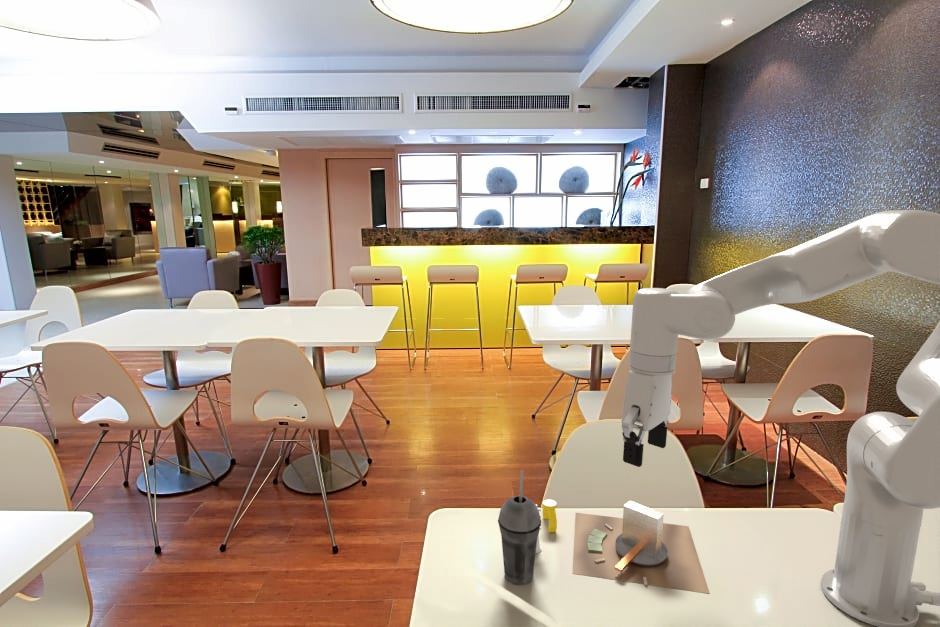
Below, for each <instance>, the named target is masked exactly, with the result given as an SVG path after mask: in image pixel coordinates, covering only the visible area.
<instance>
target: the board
mask: <svg viewBox="0 0 940 627" xmlns="http://www.w3.org/2000/svg"><path fill="white" fill-rule="evenodd" d="M574 519H575V520H574V535H573V558H572V560H573V561H572V574H574V575H579V576H586V577H587V576H588V577H593V578H599V579H607V580H613V581H621V582H626V583H634V584H639V585H640V584H641V585H643V586H646V587H648V586H653V587H659V588H660V587H661V588H668V589H675V590H681V591H687V592H695V593H701V594H709V595H710V594H711V593H710V590H709V586H708V584H707V581H706V577H705V573H704V571H703V568H702V565H701V564H702V563H701V561H700V558H699V554H698V552H697V549H696V545H695V542H694V540H693V536H692V533H691V529H690V527H689V526H688V525H683V524H681V525H680V524H672V523H666V522H665V523H664V522H663V529H662V542H663V543H664V545H665V546H666V548H667V559H666V561H665V562H664V563H663V564H662V565H660V566H657V567H641V566H637V565H634V564H631V563H630V564H629V565H628V566H627V567H626V568H625V569H624V570H623V571H622V572H619V571H617V570H615V566H616V565H617V564H618V563H619V562H620V561H621V560H622V559H623V558H621V557H620V556H619V554H618V553H617V551H616V548H615V544H616V539H617V537H618V536H619V535H621V534H622V528H623V517H616V516H615V517H614V516H607V515H598V514H589V513H581V512H575V518H574Z"/></svg>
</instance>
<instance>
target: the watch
mask: <svg viewBox="0 0 940 627" xmlns="http://www.w3.org/2000/svg"><path fill="white" fill-rule="evenodd" d="M557 506H558V504H557V501H556V500H553V499H550V498H549V499H545V500H543V501H542V519H543V520H545V519H546V520H547V519H549V524H548V525H549V527H548V528H549V529H548V533H557V530H558V529H557V527H558V525H557V524H558V519H557V513H556V508H557Z"/></svg>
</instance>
